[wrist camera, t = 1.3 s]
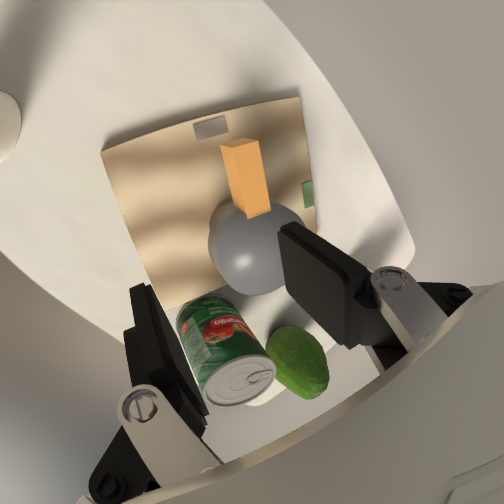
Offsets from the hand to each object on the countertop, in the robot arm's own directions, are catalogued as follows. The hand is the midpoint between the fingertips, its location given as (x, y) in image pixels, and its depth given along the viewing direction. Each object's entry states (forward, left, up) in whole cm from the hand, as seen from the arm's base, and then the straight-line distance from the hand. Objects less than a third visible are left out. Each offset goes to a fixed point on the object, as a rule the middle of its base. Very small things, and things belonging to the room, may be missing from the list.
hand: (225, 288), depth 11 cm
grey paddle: (+4, +6, -14) cm, 15 cm away
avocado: (+28, +9, -20) cm, 35 cm away
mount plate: (+5, +6, -19) cm, 21 cm away
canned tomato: (+19, 0, -20) cm, 27 cm away
